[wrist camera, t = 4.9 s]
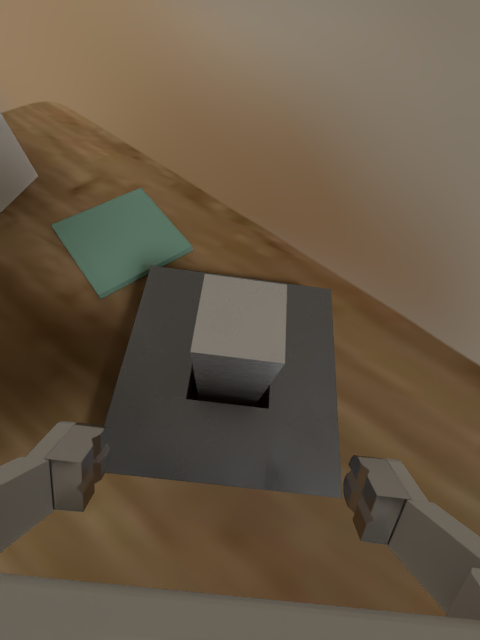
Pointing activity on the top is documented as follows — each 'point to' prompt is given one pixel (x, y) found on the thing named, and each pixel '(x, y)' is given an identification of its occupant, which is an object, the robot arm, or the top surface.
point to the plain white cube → (12, 166)
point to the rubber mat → (121, 241)
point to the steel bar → (238, 339)
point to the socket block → (226, 419)
